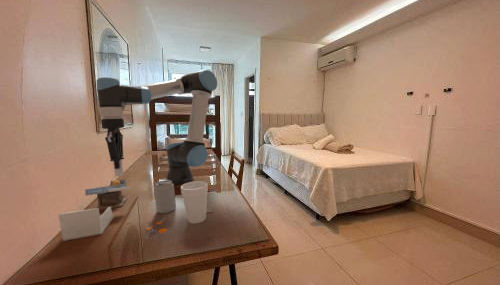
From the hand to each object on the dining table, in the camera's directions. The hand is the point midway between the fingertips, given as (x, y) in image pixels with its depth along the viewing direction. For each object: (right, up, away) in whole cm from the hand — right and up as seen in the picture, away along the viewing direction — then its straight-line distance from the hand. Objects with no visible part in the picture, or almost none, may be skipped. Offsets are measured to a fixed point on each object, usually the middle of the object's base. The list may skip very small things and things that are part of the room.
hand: (119, 175), depth 85 cm
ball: (-12, -7, +16) cm, 21 cm away
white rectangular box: (-3, -17, -12) cm, 21 cm away
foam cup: (+34, -15, -9) cm, 38 cm away
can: (+20, -14, 0) cm, 24 cm away
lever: (-6, -8, +8) cm, 12 cm away
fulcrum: (-9, -14, +8) cm, 18 cm away
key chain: (+21, -16, -13) cm, 30 cm away
